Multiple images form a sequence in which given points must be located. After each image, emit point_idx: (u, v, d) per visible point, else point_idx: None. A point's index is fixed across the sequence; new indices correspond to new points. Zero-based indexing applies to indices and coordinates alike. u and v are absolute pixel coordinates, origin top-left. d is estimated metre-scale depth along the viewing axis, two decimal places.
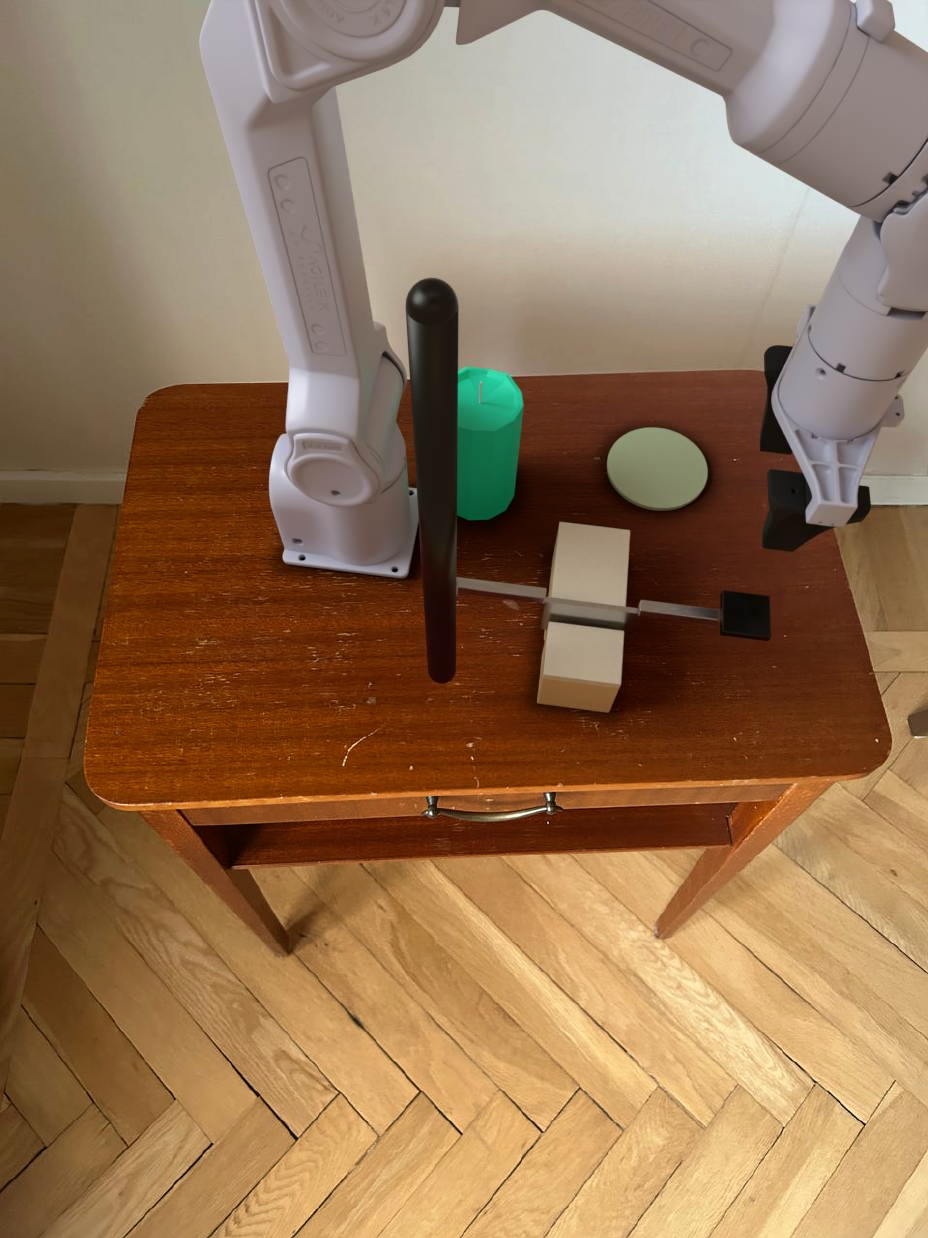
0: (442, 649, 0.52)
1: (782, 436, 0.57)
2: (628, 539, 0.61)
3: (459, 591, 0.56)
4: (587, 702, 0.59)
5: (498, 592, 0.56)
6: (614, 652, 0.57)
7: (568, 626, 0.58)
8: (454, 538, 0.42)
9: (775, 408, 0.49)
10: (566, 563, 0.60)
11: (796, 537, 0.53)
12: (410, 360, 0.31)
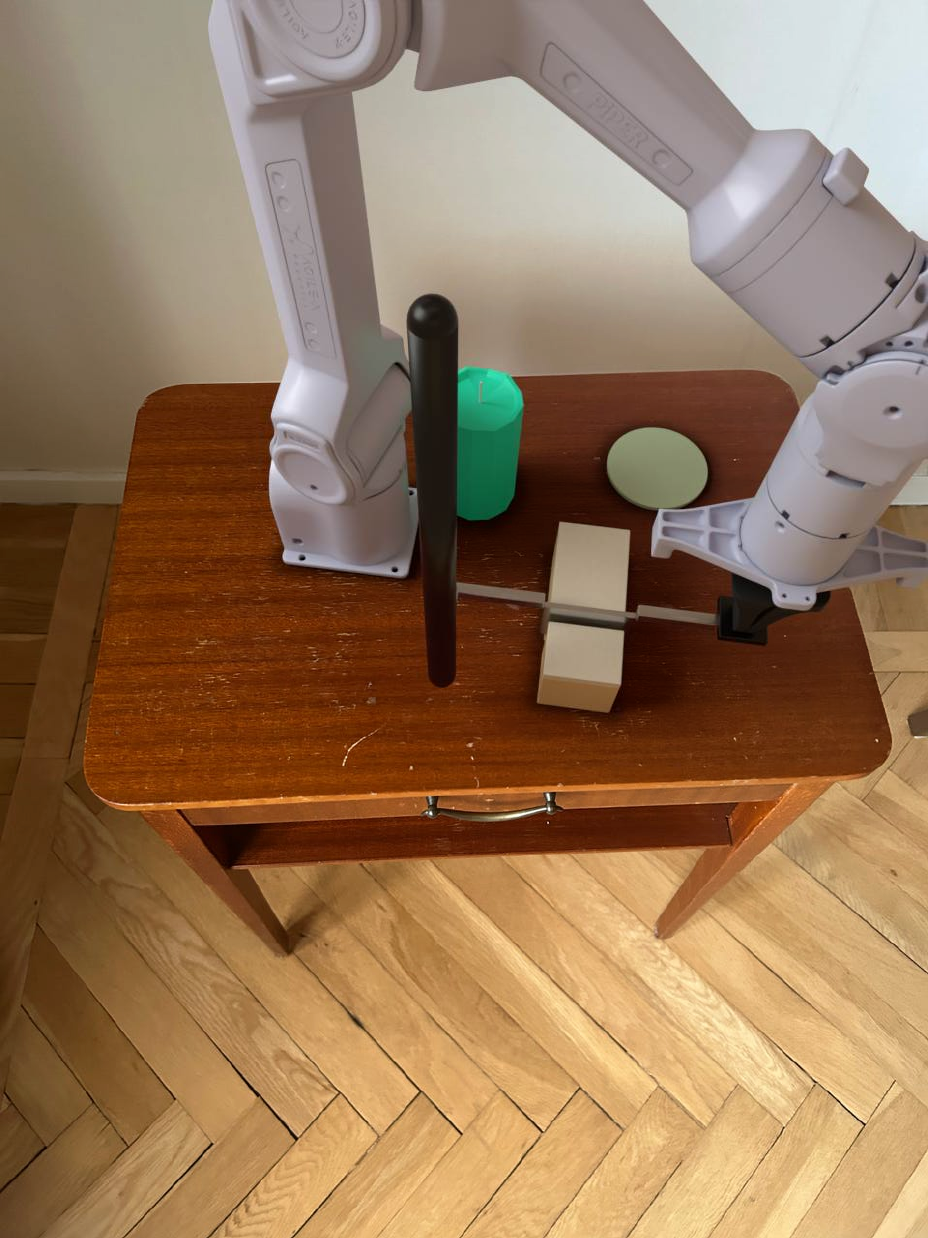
0: (443, 654, 0.52)
1: None
2: (628, 539, 0.61)
3: (459, 596, 0.57)
4: (587, 702, 0.59)
5: (498, 597, 0.56)
6: (614, 652, 0.57)
7: (568, 626, 0.58)
8: (454, 546, 0.42)
9: None
10: (566, 563, 0.60)
11: None
12: (411, 373, 0.32)
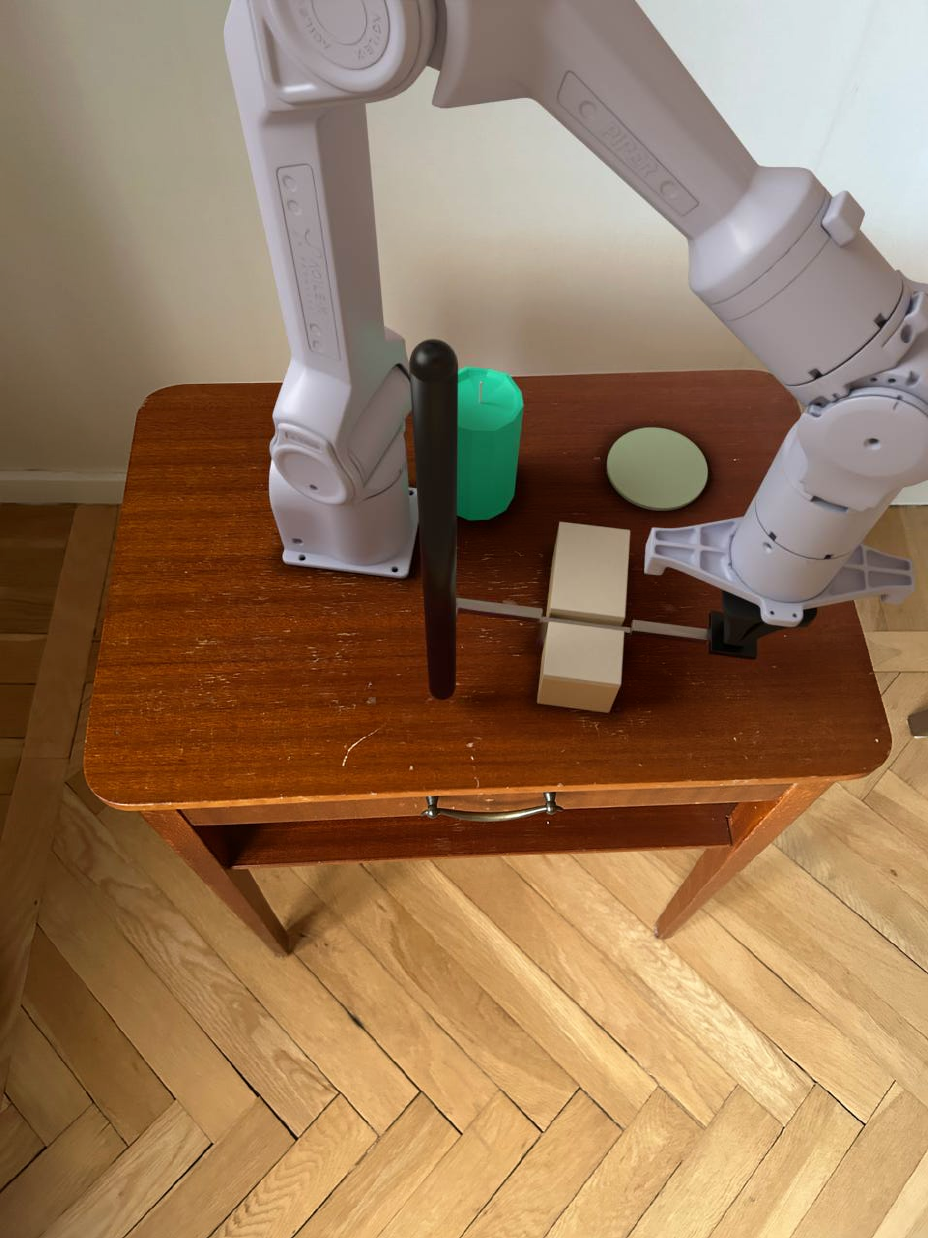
0: (443, 669, 0.54)
1: None
2: (628, 539, 0.61)
3: (459, 611, 0.59)
4: (587, 702, 0.59)
5: (497, 612, 0.58)
6: (614, 652, 0.57)
7: (568, 626, 0.58)
8: (454, 568, 0.44)
9: None
10: (566, 563, 0.60)
11: None
12: (413, 412, 0.34)
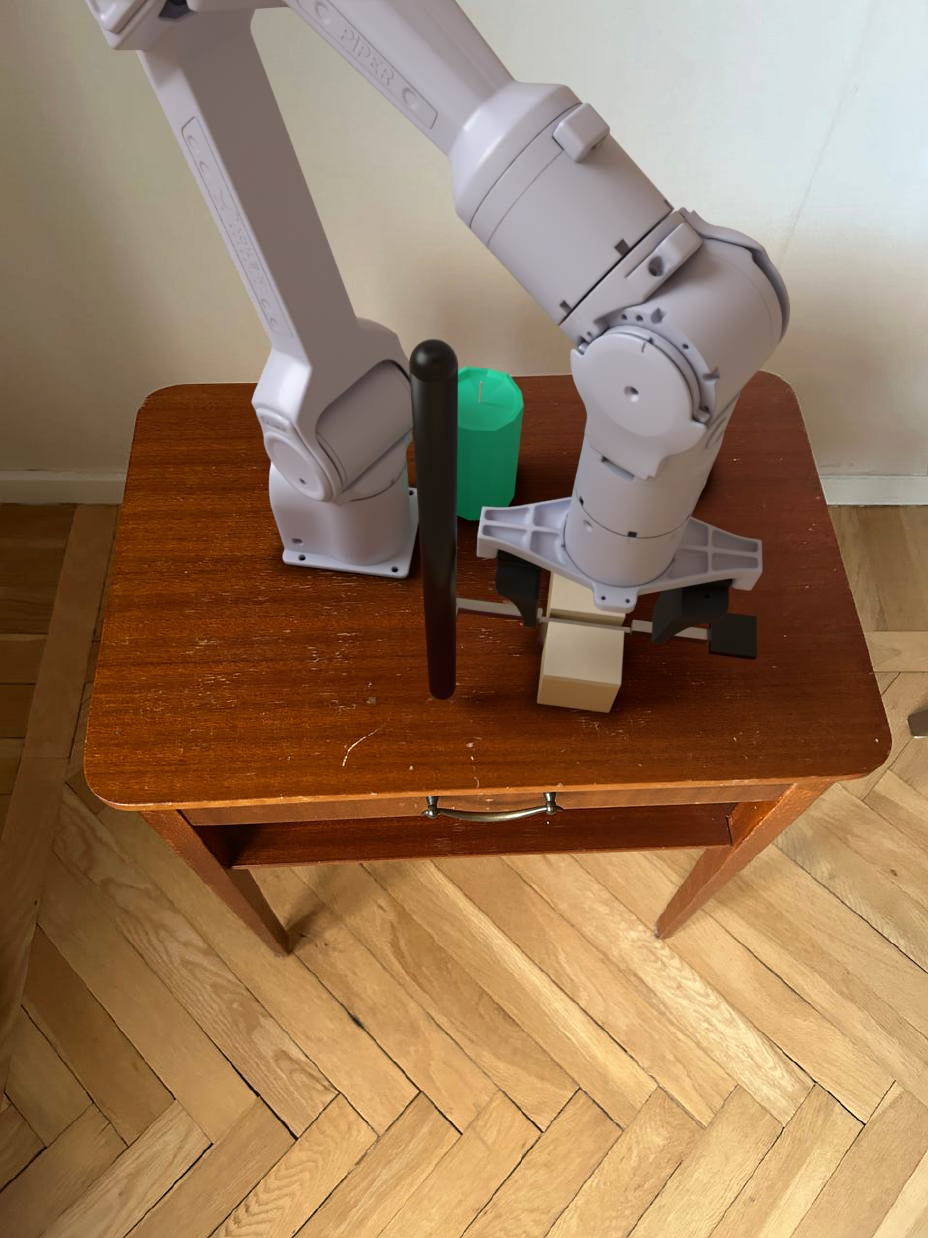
0: (443, 669, 0.54)
1: (658, 615, 0.51)
2: None
3: (459, 611, 0.59)
4: (587, 702, 0.59)
5: (497, 612, 0.58)
6: (614, 652, 0.57)
7: (568, 626, 0.58)
8: (454, 568, 0.44)
9: None
10: None
11: None
12: (413, 412, 0.34)
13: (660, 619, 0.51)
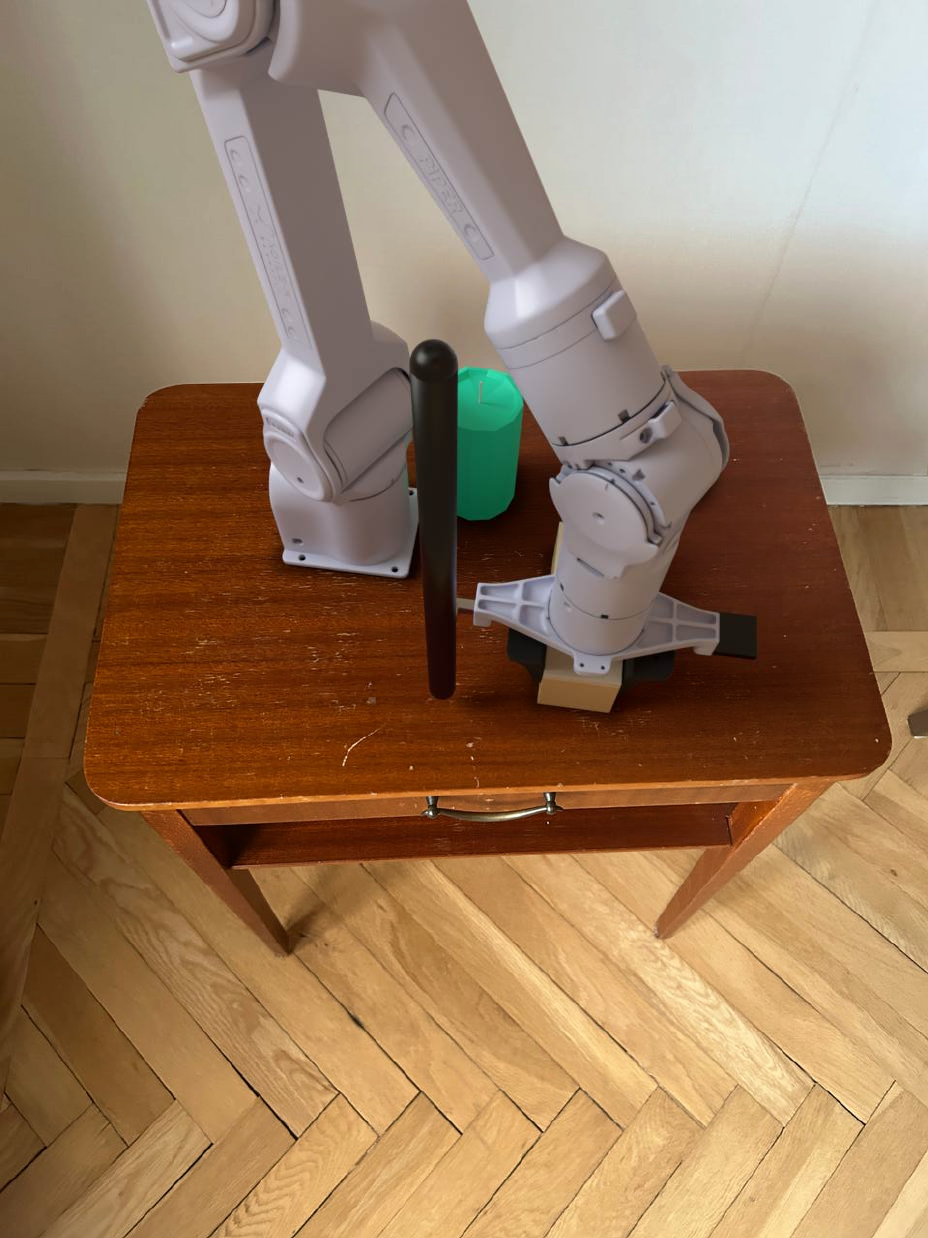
0: (443, 669, 0.54)
1: None
2: None
3: (459, 611, 0.59)
4: (587, 702, 0.59)
5: None
6: None
7: None
8: (454, 568, 0.44)
9: None
10: None
11: None
12: (413, 412, 0.34)
13: None
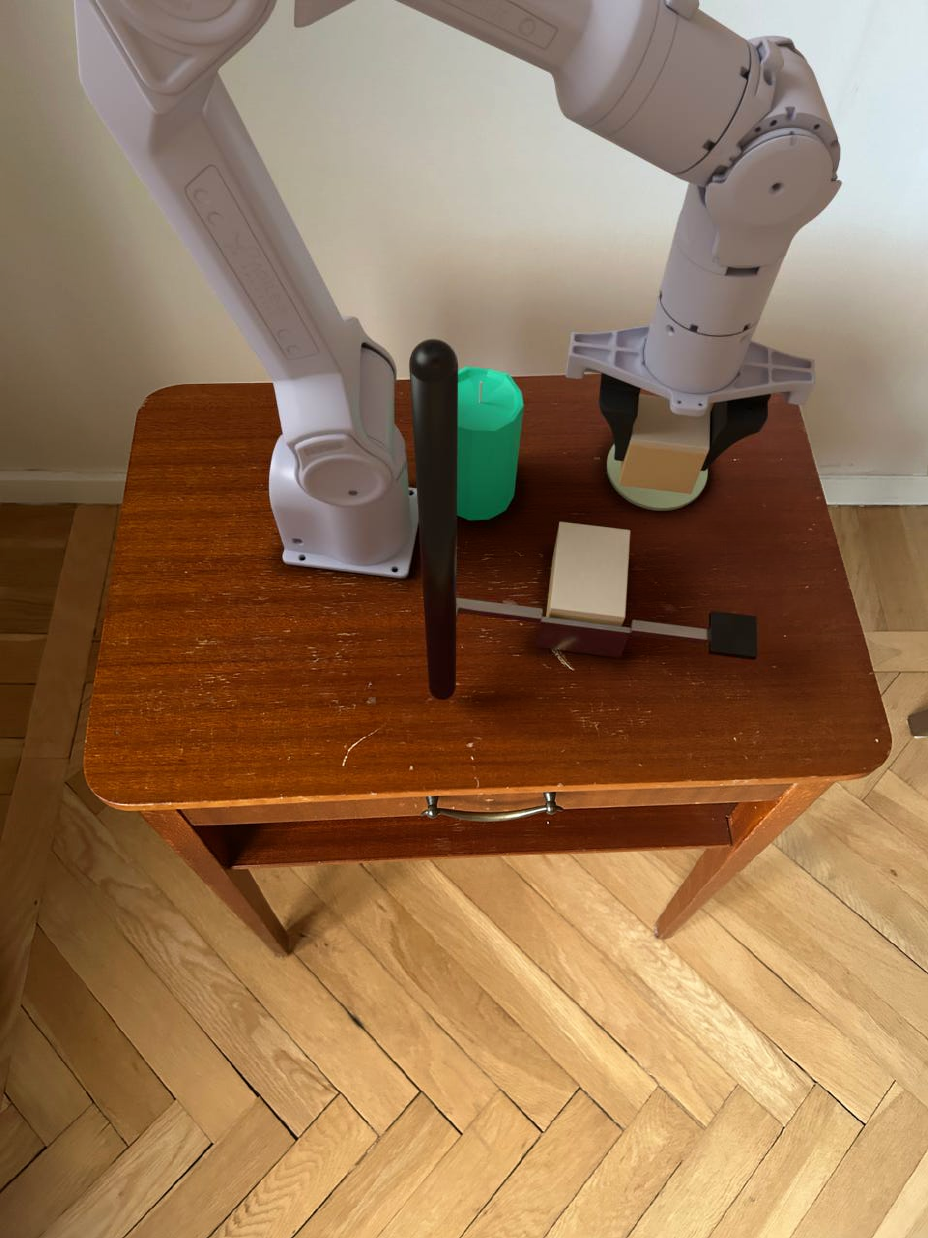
0: (443, 669, 0.54)
1: None
2: (628, 539, 0.61)
3: (459, 611, 0.59)
4: (671, 479, 0.59)
5: (497, 612, 0.58)
6: (702, 420, 0.57)
7: (654, 398, 0.58)
8: (454, 568, 0.44)
9: None
10: (566, 563, 0.60)
11: None
12: (413, 412, 0.34)
13: None
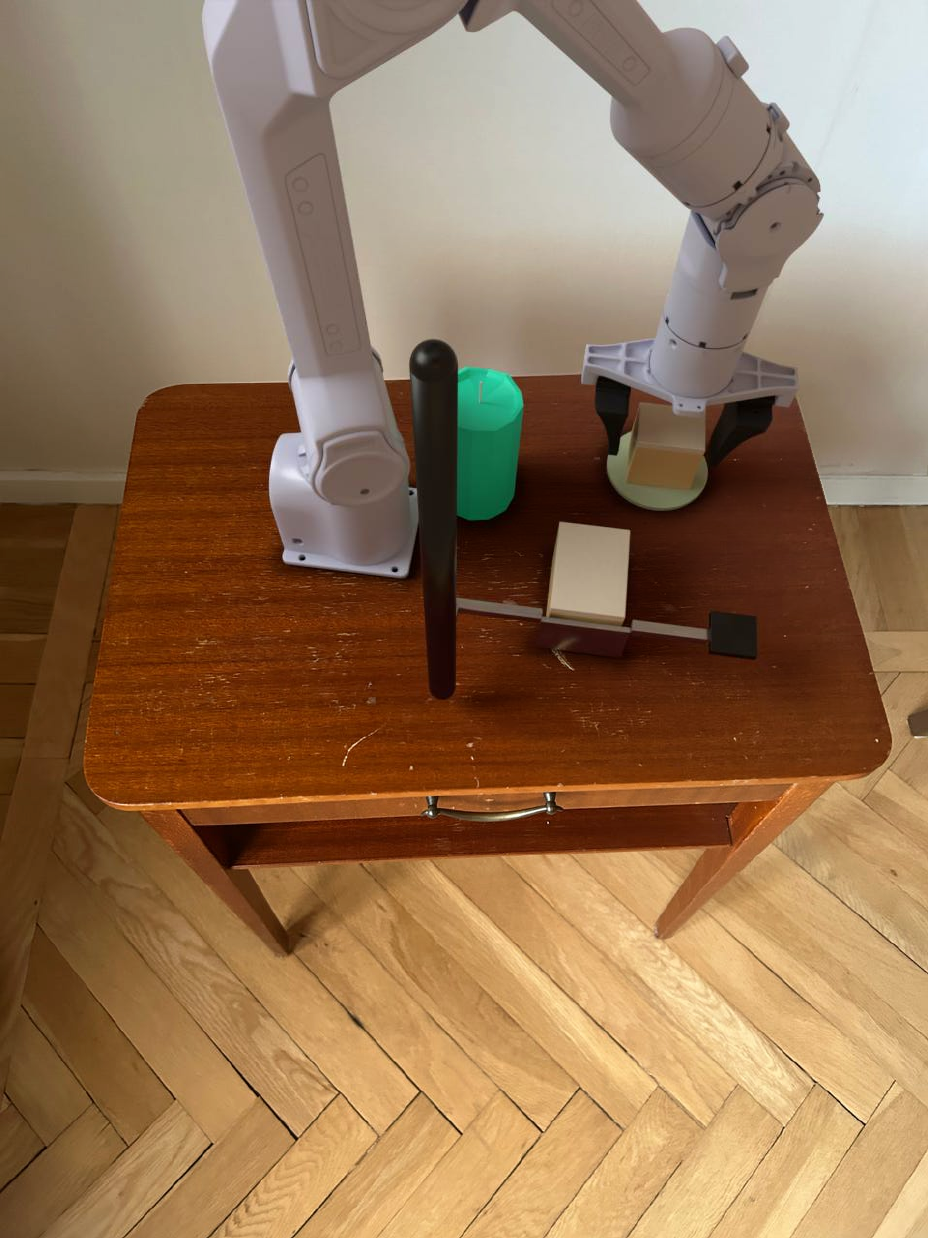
0: (443, 669, 0.54)
1: (714, 442, 0.66)
2: (628, 539, 0.61)
3: (459, 611, 0.59)
4: (671, 477, 0.68)
5: (497, 612, 0.58)
6: (698, 425, 0.65)
7: (656, 406, 0.66)
8: (454, 568, 0.44)
9: None
10: (566, 563, 0.60)
11: None
12: (413, 412, 0.34)
13: (716, 443, 0.66)
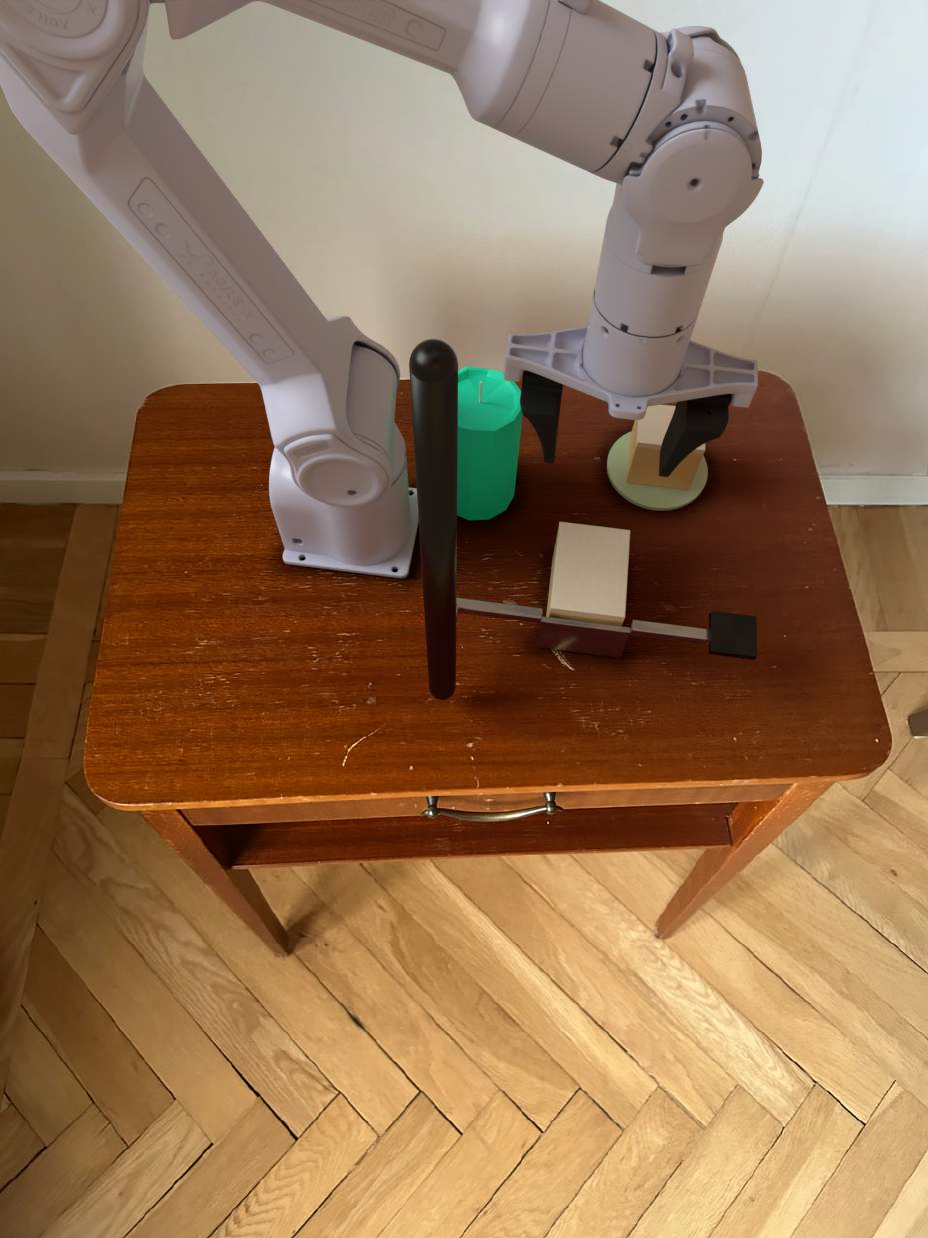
0: (443, 669, 0.54)
1: (665, 448, 0.57)
2: (628, 539, 0.61)
3: (459, 611, 0.59)
4: (671, 477, 0.68)
5: (497, 612, 0.58)
6: None
7: (656, 406, 0.66)
8: (454, 568, 0.44)
9: None
10: (566, 563, 0.60)
11: None
12: (413, 412, 0.34)
13: (667, 450, 0.57)
